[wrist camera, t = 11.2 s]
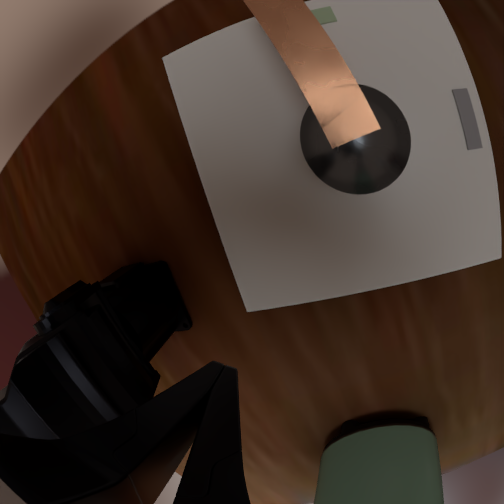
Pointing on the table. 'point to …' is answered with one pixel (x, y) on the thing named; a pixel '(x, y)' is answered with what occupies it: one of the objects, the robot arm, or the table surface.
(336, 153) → the lever
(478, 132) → the base plate
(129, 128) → the table surface
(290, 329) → the table surface
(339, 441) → the juicer
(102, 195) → the table surface
